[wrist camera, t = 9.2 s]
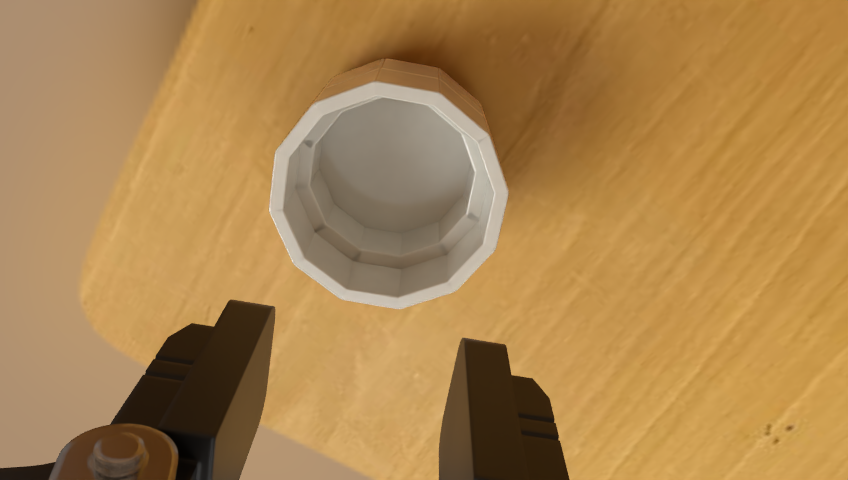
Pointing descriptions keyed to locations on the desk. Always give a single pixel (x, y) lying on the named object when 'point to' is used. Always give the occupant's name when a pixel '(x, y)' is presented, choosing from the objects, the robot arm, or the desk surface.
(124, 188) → the desk surface
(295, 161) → the bowl
